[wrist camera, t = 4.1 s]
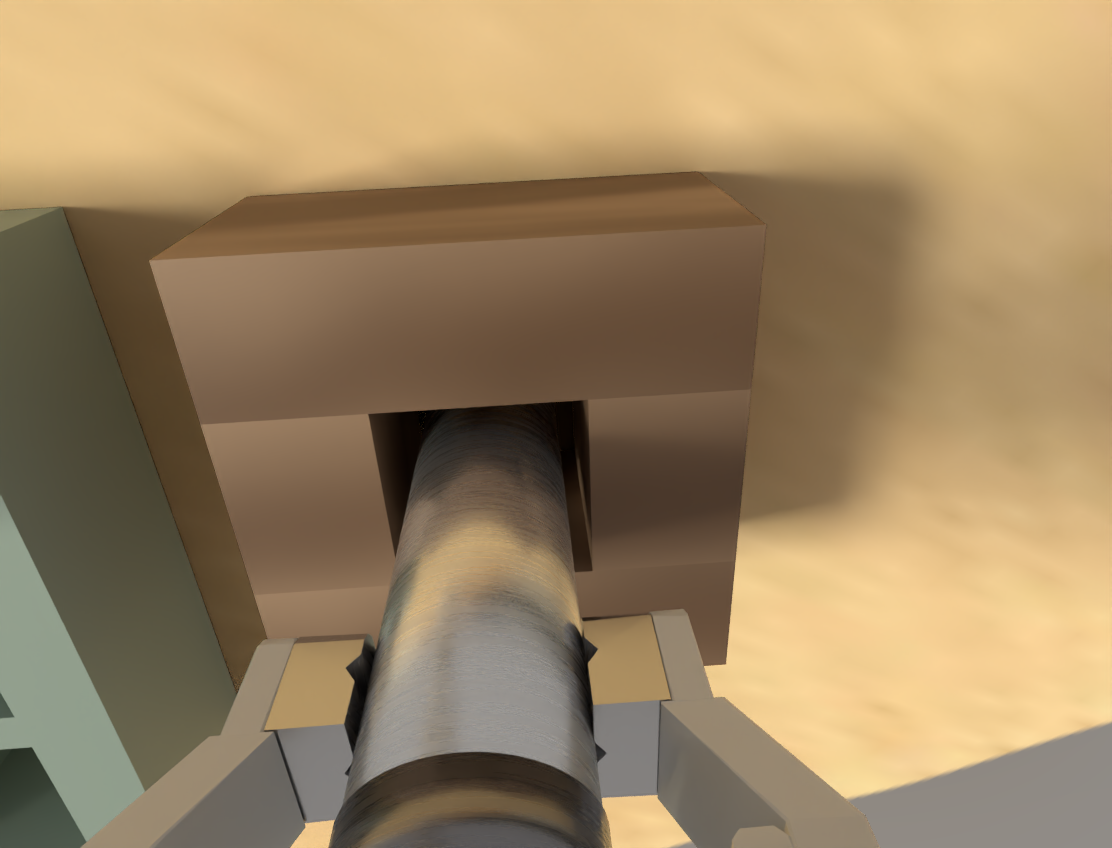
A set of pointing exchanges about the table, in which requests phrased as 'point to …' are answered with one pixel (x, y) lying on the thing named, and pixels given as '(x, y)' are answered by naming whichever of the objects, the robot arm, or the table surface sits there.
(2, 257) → the drill rack
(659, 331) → the socket block
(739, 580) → the table surface
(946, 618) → the table surface
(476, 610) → the metal cylinder rod
